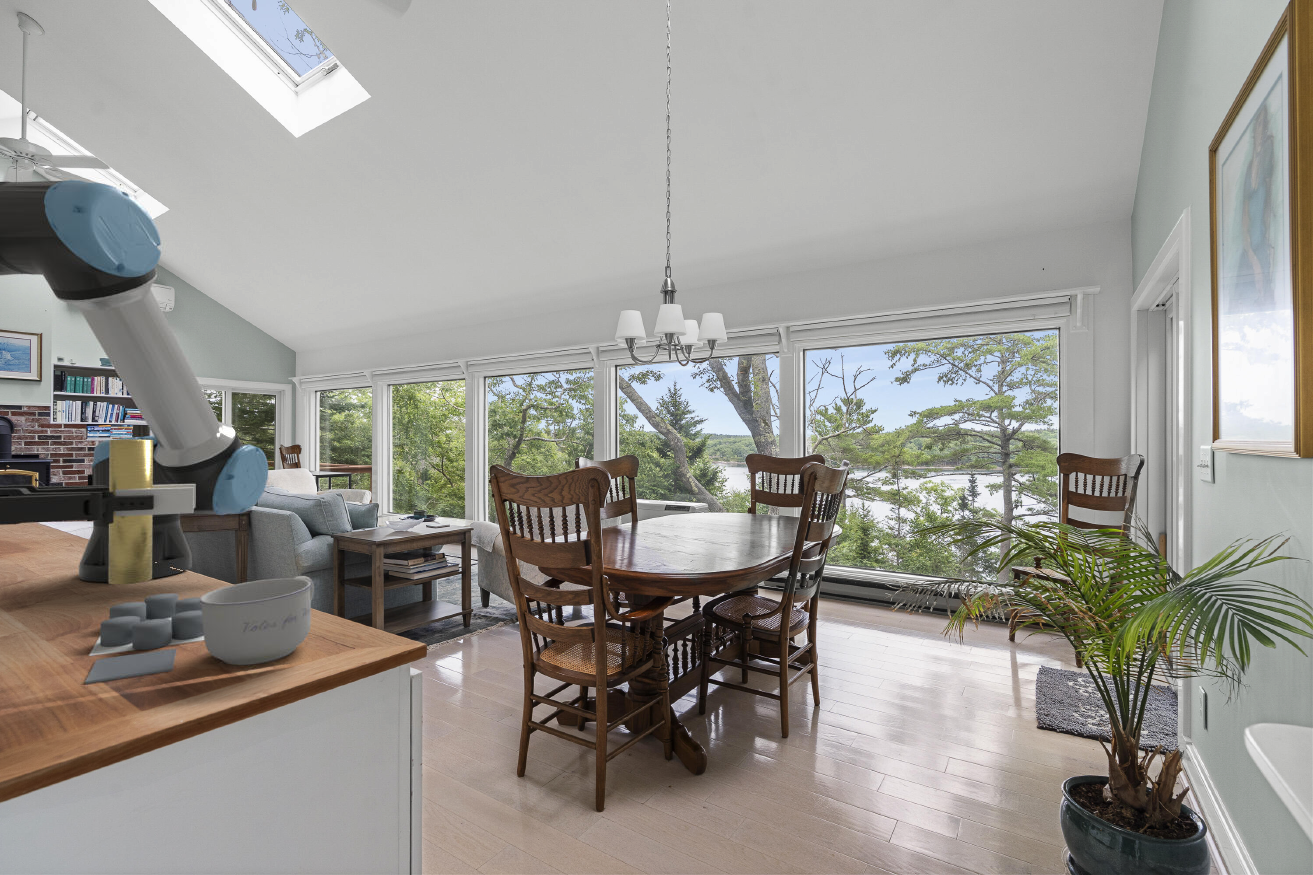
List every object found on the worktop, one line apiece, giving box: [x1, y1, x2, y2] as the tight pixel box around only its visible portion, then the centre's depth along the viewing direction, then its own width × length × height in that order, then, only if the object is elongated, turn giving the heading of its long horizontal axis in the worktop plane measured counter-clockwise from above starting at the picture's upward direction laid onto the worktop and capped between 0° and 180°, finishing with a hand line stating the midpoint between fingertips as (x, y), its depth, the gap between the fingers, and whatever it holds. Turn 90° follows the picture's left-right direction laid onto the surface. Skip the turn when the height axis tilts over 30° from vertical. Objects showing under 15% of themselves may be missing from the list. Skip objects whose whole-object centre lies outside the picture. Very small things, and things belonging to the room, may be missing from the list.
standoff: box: [108, 438, 153, 586], centre depth 69 cm, size 4×4×15 cm
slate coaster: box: [84, 648, 178, 685], centre depth 70 cm, size 7×7×1 cm
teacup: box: [200, 575, 315, 666], centre depth 76 cm, size 14×11×8 cm
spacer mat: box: [88, 593, 205, 657], centre depth 82 cm, size 17×11×3 cm, turn 33°
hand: (193, 497), depth 72 cm, fingers closed on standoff, 4 cm apart
